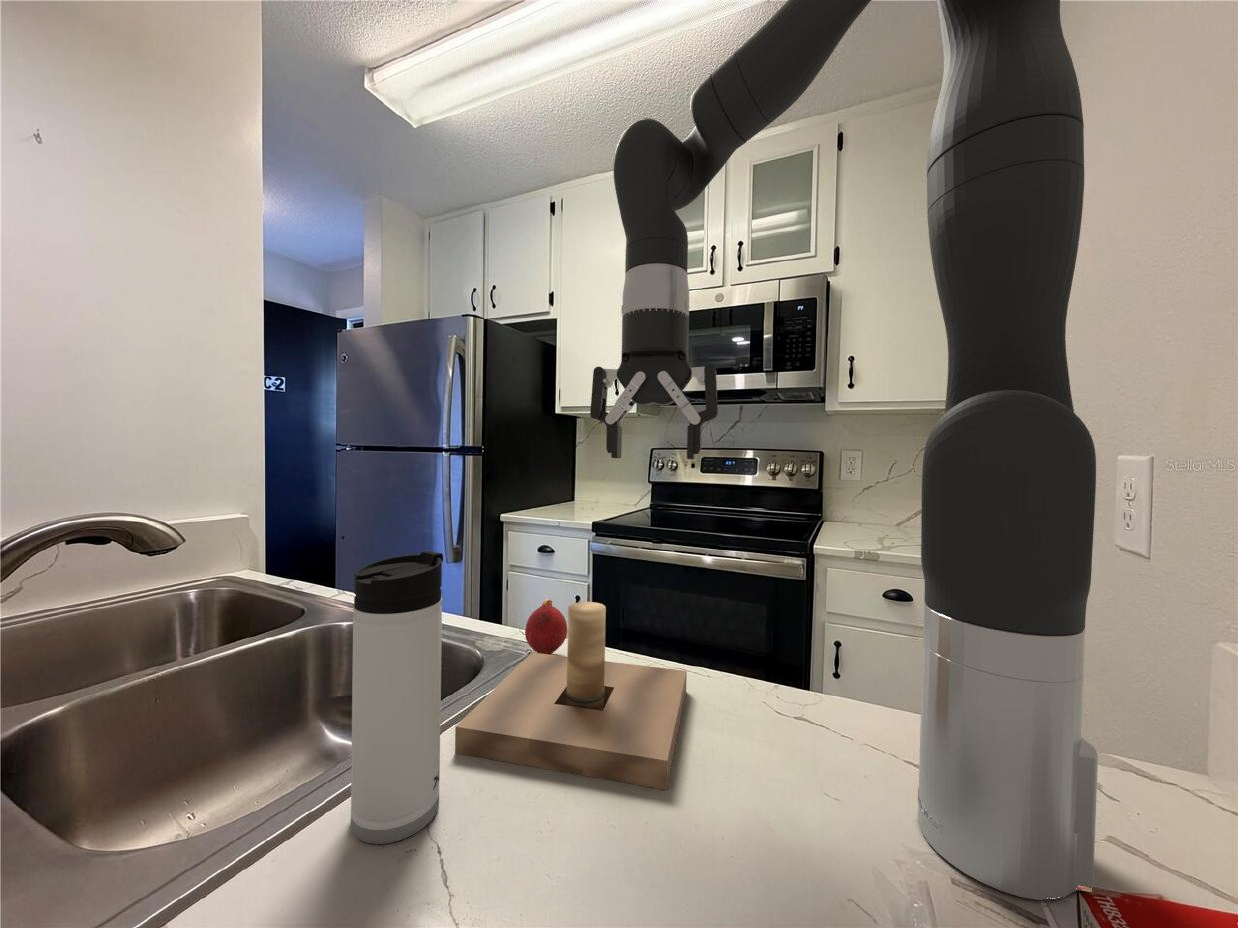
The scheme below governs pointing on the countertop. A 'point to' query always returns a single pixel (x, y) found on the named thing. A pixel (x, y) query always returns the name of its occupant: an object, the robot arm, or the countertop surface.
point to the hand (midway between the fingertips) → (652, 458)
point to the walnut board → (580, 722)
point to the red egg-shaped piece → (546, 629)
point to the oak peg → (586, 655)
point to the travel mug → (396, 696)
